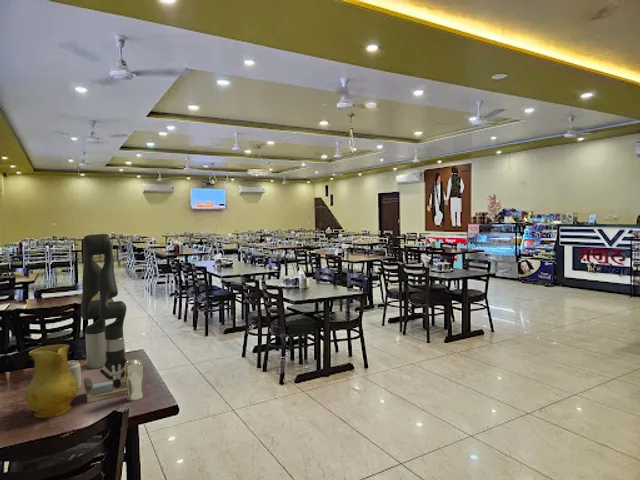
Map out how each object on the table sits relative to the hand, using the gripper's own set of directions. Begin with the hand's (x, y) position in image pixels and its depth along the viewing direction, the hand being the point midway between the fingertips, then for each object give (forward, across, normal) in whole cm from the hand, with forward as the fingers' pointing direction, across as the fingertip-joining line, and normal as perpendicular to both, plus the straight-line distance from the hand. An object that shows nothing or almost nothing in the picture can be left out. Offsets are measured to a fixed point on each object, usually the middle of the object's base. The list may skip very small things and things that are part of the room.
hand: (117, 387), depth 182 cm
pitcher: (+2, +23, +4) cm, 23 cm away
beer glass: (+2, -5, +11) cm, 12 cm away
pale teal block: (+2, +6, -1) cm, 6 cm away
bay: (+2, +4, 0) cm, 4 cm away
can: (+2, +16, -14) cm, 22 cm away
